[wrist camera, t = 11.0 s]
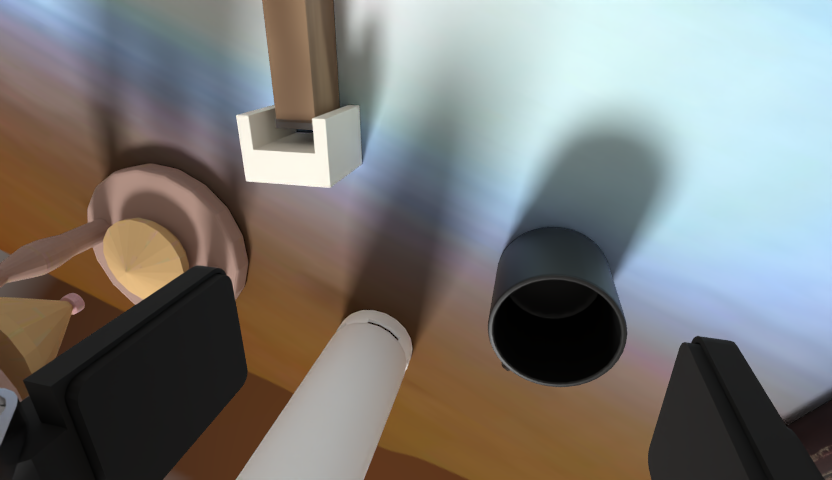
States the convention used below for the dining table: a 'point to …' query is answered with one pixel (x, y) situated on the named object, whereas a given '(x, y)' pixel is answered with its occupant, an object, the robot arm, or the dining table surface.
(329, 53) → the rail
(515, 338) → the mug
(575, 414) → the dining table surface
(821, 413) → the diary
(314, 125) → the white u-channel cradle
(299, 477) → the bottle
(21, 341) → the hourglass
